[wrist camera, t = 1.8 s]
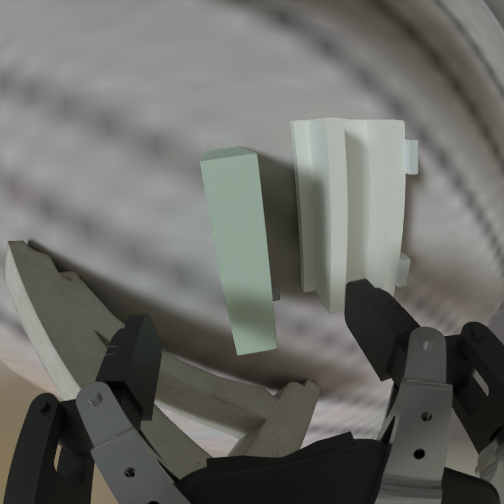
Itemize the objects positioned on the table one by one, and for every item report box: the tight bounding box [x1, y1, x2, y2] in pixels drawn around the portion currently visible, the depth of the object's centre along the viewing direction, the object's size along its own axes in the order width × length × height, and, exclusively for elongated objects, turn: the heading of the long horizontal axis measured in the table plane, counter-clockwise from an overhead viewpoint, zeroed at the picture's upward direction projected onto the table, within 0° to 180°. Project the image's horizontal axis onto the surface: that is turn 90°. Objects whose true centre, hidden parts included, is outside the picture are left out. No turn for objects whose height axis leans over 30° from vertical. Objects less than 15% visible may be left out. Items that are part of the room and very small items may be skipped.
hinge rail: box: [289, 118, 418, 314], centre depth 19 cm, size 14×8×5 cm, turn 7°
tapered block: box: [200, 146, 280, 355], centre depth 17 cm, size 11×3×8 cm, turn 7°
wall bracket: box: [4, 241, 321, 478], centre depth 24 cm, size 22×4×30 cm
